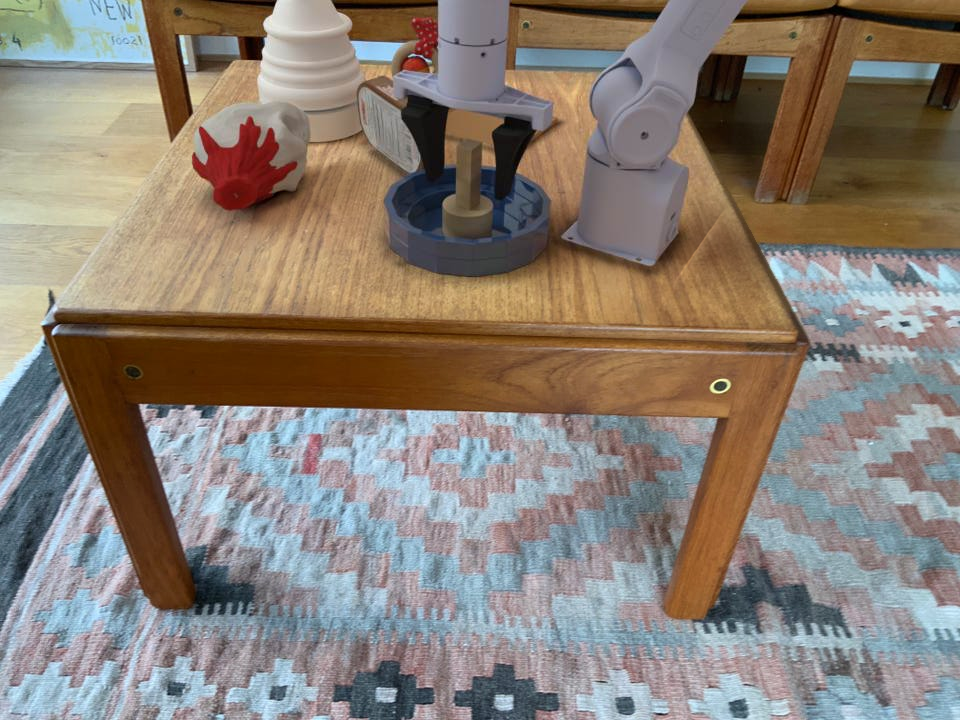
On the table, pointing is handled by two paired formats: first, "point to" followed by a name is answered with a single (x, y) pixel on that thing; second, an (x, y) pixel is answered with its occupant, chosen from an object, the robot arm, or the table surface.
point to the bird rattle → (418, 49)
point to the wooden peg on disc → (468, 197)
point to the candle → (251, 151)
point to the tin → (387, 123)
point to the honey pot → (312, 66)
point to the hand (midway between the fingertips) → (468, 186)
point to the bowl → (423, 244)
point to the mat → (477, 126)
